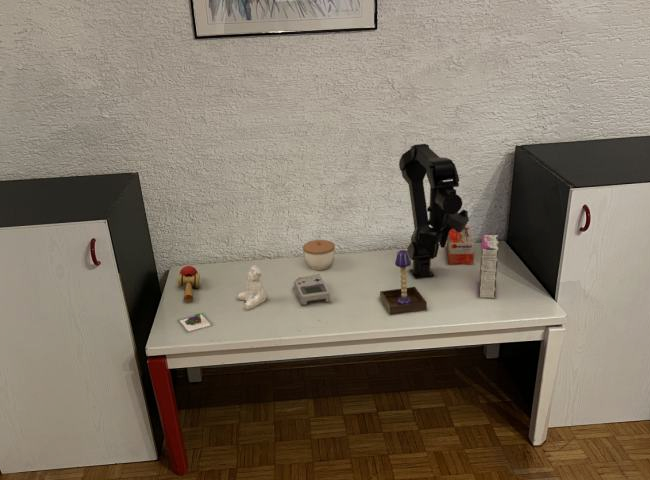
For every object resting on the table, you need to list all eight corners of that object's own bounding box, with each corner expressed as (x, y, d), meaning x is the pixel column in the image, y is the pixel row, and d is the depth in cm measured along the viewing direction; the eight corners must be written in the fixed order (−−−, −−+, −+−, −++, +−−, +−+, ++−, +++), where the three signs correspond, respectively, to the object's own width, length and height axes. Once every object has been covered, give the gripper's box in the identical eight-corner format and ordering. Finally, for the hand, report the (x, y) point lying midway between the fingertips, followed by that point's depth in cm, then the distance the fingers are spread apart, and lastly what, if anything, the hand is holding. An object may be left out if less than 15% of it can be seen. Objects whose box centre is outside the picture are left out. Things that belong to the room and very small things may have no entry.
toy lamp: (400, 307, 208) (400, 255, 200) (392, 301, 211) (392, 250, 203) (414, 303, 210) (414, 252, 201) (405, 298, 213) (405, 247, 205)
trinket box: (316, 258, 244) (315, 233, 240) (341, 264, 239) (340, 238, 234) (298, 269, 237) (296, 243, 232) (323, 275, 231) (322, 249, 227)
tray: (379, 298, 214) (379, 291, 213) (414, 294, 216) (414, 286, 215) (390, 315, 205) (390, 307, 204) (426, 310, 206) (426, 302, 205)
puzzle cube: (198, 318, 209) (197, 311, 208) (201, 322, 207) (200, 315, 206) (184, 322, 207) (183, 315, 206) (188, 325, 205) (186, 318, 204)
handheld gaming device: (320, 283, 226) (319, 273, 224) (330, 303, 214) (330, 291, 212) (293, 288, 225) (292, 277, 223) (302, 307, 212) (301, 296, 210)
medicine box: (473, 264, 233) (474, 242, 229) (448, 265, 234) (449, 242, 230) (469, 247, 246) (470, 226, 242) (445, 247, 247) (446, 226, 243)
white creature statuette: (237, 298, 220) (232, 263, 214) (262, 292, 223) (259, 258, 216) (246, 310, 212) (242, 274, 206) (272, 304, 215) (269, 268, 209)
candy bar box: (478, 282, 221) (481, 234, 213) (494, 283, 220) (498, 234, 212) (478, 298, 211) (481, 248, 203) (495, 299, 210) (499, 248, 202)
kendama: (204, 304, 220) (203, 274, 234) (198, 288, 216) (197, 258, 230) (181, 310, 220) (180, 280, 234) (174, 294, 216) (174, 264, 230)
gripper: (455, 217, 192) (452, 268, 200) (476, 196, 206) (473, 245, 214) (417, 212, 197) (416, 262, 205) (440, 192, 211) (438, 240, 219)
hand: (437, 253), depth 210 cm, fingers open, 9 cm apart
